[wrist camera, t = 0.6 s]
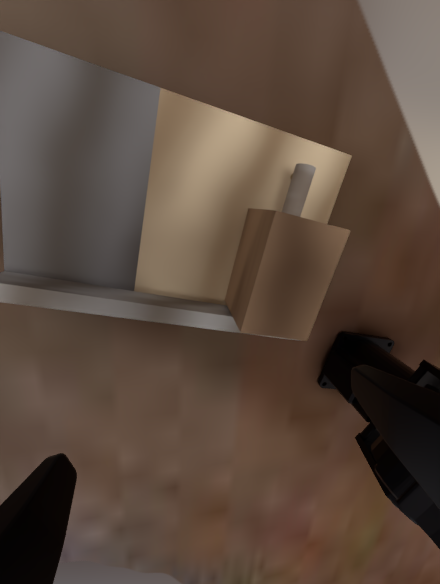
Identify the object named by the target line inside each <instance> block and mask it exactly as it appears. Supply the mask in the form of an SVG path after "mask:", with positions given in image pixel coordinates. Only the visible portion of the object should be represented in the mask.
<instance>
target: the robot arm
mask: <svg viewBox="0 0 440 584" xmlns="http://www.w3.org/2000/svg"><path fill="white" fill-rule="evenodd" d="M344 336H345V337H344ZM343 337H344V338H343ZM393 345H394V341H392V340H391V339H389V338H383V337H376V336H369V335H362V334H355V333H348V332H341V333H340V334H339V335H338V337H337V339H336V341H335V344H334V346H333V348H332V351H331V353H330V355H329V357H328V360H327V362H326V364H325V367H324V369H323V371H322V374H321V376H320V378H319V380H318V384H319V386H320V387H321V388H331V389H337V390H338V391H339V392H340V394H341V395H342V396H343V397H344V398H345V399H346V401H347V402H348V403H351V404H352V405H353V407H354V408H355V409H356V410H357V411H358V412H359V414H360V415H361V416H362V417H363V418H364V419H365V420H366V422H370V423H369V424H368V425H367V427H366V428H365V429H364V430H363V431H362V432H361V433H359V434H358V435H357V436H356V437H355V439H356V440H357V442H358V444H359V446H360V448H361V450H362V452H363V454H364V456H365V458H366V460H367V462H368V463H369V465H370V467H371V469H372V471H373V473H374V475H375V477H376V478H377V480H378V482H379V484H380V486H381V488H382V490H383V492H384V493H385V495H386V496H387V497H388V498H389V499H390V500H391V502H392V503H393V504H394V505H395V506H396V507H397V508H399V509H400V510H401V511H402V512H403V513H404V514H405V515H406V516H407V517H408V518H409V519H410V520H412V521H413V522H414V523H415V524H417V525H419V526H420V527H421V528H422V529H423V530H424V531H425V533H426V534H427V535H428V536H429V537H430V538H431V539H432V540H433V542H434V543H435V544H436V545H437V546H438V548H439V549H440V368H438V367H436V366H434V365H432V364H431V363H429V362H427V361H425V360H423V361H422V362H421V363H420V364H419V365H420V366H419V368H418V369H417V370H416V371H414V370H412V369H411V368H410V367H408V366H407V365H405V364H404V363H403V362H401V361H400V360H398V359H397V358H395V357H394V356H393V355H391V354H390V351H391V349H392V347H393ZM76 479H77V473H76V470H75V468H74V467H73V465H72V464H71V462H70V461H69V459H68V458H67V456H66V455H65V454H63V453H60V454H57V455H53V456H50V457H48V458H46V459H45V460H44V461H43V462H42V463H41V464H40V465H39V466H38V467H37V468H36V469H35V470H34V471H33V472H32V473H31V474H30V475H29V476H28V478H27V479H26V480H25V481H24V482H23V483H22V484H21V485H20V486H19V487H18V488H17V489H16V490H15V491H14V492H13V493H12V494H11V495H10V496H9V497H8V498H7V499H6V500H5V501H4V502H3V503H2V504H1V505H0V584H53V581H54V577H55V574H56V570H57V567H58V563H59V560H60V556H61V552H62V548H63V544H64V540H65V535H66V530H67V525H68V520H69V515H70V510H71V505H72V500H73V495H74V490H75V485H76Z"/></svg>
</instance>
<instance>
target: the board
mask: <svg viewBox="0 0 440 584" xmlns="http://www.w3.org/2000/svg"><path fill="white" fill-rule="evenodd" d="M351 157H352V156H351V155H349V154H346V153H343V152H340V151H337V150H335V149H332V148H329V147H326V146H323V145H320V144H318V143H315V142H312V141H309V140H306V139H304V138H301V137H298V136H295V135H292V134H290V133H287V132H284V131H281V130H278V129H275V128H273V127H270V126H267V125H264V124H261V123H259V122H256V121H253V120H250V119H247V118H244V117H242V116H239V115H236V114H233V113H230V112H228V111H225V110H222V109H219V108H216V107H213V106H211V105H208V104H205V103H202V102H199V101H197V100H194V99H191V98H188V97H185V96H182V95H180V94H177V93H174V92H171V91H168V90H166V89H163V88H160V87H157V86H154V85H151V84H149V83H146V82H143V81H140V80H137V79H135V78H132V77H129V76H126V75H123V74H121V73H118V72H115V71H112V70H109V69H106V68H104V67H101V66H98V65H95V64H92V63H90V62H87V61H84V60H81V59H78V58H75V57H73V56H70V55H67V54H64V53H61V52H59V51H56V50H53V49H50V48H47V47H44V46H42V45H39V44H36V43H33V42H30V41H28V40H25V39H22V38H19V37H16V36H13V35H11V34H8V33H5V32H2V31H0V187H1V208H2V230H3V251H4V271H3V272H1V273H0V302H3V303H11V304H19V305H27V306H34V307H42V308H50V309H58V310H65V311H73V312H81V313H89V314H97V315H104V316H112V317H120V318H128V319H135V320H143V321H151V322H159V323H166V324H174V325H182V326H190V327H198V328H205V329H213V330H221V331H229V332H236V333H240V331H239V329H238V327H237V325H236V323H235V321H234V318H233V316H232V314H231V312H230V310H229V308H228V306H227V304H226V302H225V297H226V293H227V289H228V285H229V282H230V278H231V274H232V270H233V266H234V262H235V258H236V254H237V251H238V247H239V243H240V239H241V235H242V231H243V227H244V223H245V220H246V216H247V212H248V208H252V209H264V210H276V211H280V212H282V209H283V206H284V202H285V199H286V196H287V192H288V189H289V186H290V183H291V178H290V177H291V175H292V174H293V173H294V169H295V166H296V164H298V163H303V164H309V165H312V166H314V167H316V170H315V173H314V176H313V179H312V182H311V185H310V188H309V191H308V195H307V198H306V201H305V204H304V207H303V210H302V213H301V216H300V217H302V218H306V219H310V220H314V221H317V222H321V223H325V224H327V223H328V220H329V217H330V215H331V212H332V209H333V206H334V203H335V201H336V198H337V195H338V192H339V190H340V187H341V184H342V181H343V179H344V176H345V173H346V170H347V168H348V165H349V162H350V159H351ZM244 334H248V333H244ZM252 335H256V334H252ZM260 336H264V335H260ZM267 337H271V336H267ZM275 338H279V337H275ZM283 339H287V338H283ZM291 340H295V339H291ZM299 341H300V340H299Z"/></svg>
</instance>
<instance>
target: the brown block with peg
mask: <svg viewBox="0 0 440 584" xmlns="http://www.w3.org/2000/svg"><path fill="white" fill-rule="evenodd" d="M315 170H316V167H314V166H312V165H309V164H303V163H298V164H296V166H295V169H294V173H293V174H292V175H291V177H290V178H291V183H290V186H289V189H288V192H287V196H286V199H285V202H284V206H283V209H282V212H280V211H276V210H264V209H252V208H248V212H247V216H246V220H245V223H244V227H243V231H242V235H241V239H240V243H239V247H238V251H237V254H236V258H235V262H234V266H233V270H232V274H231V278H230V282H229V285H228V289H227V293H226V297H225V302H226V304H227V306H228V308H229V310H230V312H231V314H232V316H233V318H234V321H235V323H236V325H237V327H238V329H239V331H240V333H248V334H256V335H264V336H271V337H279V338H287V339H295V340H302V341H307V340H308V337H309V335H310V332H311V330H312V327H313V325H314V322H315V320H316V317H317V315H318V312H319V309H320V307H321V304H322V302H323V299H324V297H325V294H326V292H327V289H328V287H329V284H330V282H331V279H332V277H333V274H334V271H335V269H336V266H337V264H338V261H339V259H340V256H341V254H342V251H343V249H344V246H345V244H346V241H347V239H348V236H349V234H350V231H351V230H347V229H344V228H340V227H336V226H332V225H329V224H325V223H321V222H317V221H314V220H310V219H306V218H302V217H300V216H301V213H302V210H303V207H304V204H305V201H306V198H307V195H308V191H309V188H310V185H311V182H312V179H313V176H314V173H315Z"/></svg>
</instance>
